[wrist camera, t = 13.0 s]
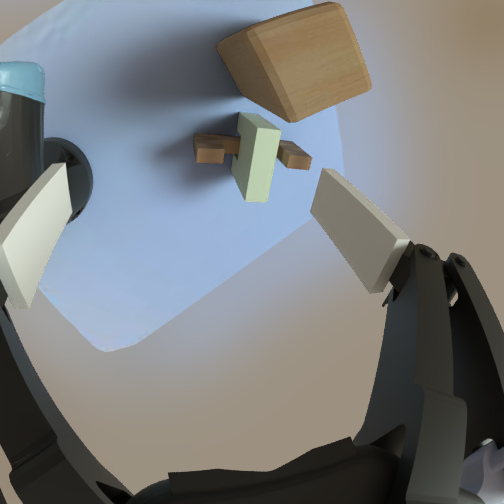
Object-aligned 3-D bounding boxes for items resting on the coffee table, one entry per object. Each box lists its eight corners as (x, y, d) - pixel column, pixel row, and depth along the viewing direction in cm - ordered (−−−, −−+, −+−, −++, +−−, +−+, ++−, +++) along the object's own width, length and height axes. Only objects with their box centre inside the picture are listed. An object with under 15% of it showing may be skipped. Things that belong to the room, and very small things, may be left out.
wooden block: (300, 73, 37) (378, 91, 22) (243, 99, 38) (290, 129, 23) (274, 19, 31) (343, -2, 16) (212, 45, 32) (240, 29, 17)
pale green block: (248, 171, 46) (267, 202, 38) (230, 170, 45) (245, 201, 37) (258, 114, 40) (281, 130, 32) (239, 111, 40) (257, 127, 31)
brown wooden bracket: (193, 145, 41) (196, 162, 35) (194, 133, 40) (197, 148, 34) (289, 152, 46) (309, 170, 40) (292, 141, 45) (312, 157, 38)
